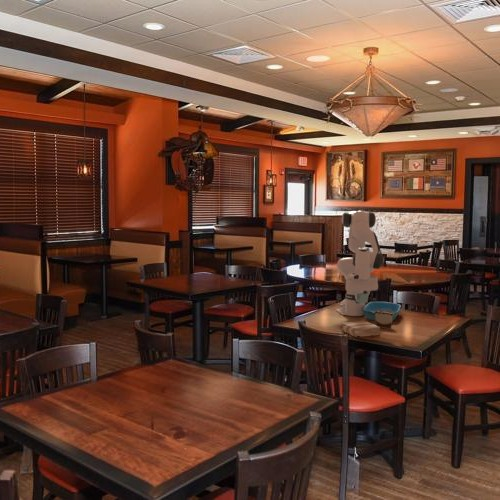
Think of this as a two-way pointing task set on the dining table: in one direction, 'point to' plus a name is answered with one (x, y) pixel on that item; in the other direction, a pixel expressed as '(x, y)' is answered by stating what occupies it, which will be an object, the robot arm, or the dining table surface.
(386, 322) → the food container
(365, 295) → the teal block
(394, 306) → the casserole dish
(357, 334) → the folded beige towel
